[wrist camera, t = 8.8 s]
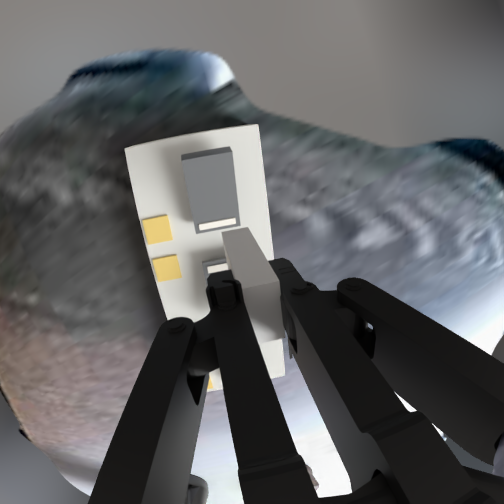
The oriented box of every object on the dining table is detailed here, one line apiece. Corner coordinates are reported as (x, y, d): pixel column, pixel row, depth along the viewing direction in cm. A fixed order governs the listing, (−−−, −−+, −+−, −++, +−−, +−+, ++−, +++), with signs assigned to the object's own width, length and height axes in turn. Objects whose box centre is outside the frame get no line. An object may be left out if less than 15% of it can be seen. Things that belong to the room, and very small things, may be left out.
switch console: (190, 368, 42) (192, 399, 37) (131, 145, 30) (119, 150, 24) (275, 351, 43) (287, 380, 38) (248, 124, 31) (260, 124, 26)
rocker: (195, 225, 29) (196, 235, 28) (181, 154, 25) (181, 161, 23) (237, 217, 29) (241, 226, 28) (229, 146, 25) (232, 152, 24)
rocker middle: (216, 328, 31) (216, 334, 30) (202, 261, 30) (201, 263, 29) (255, 320, 32) (257, 326, 30) (243, 253, 31) (245, 255, 29)
